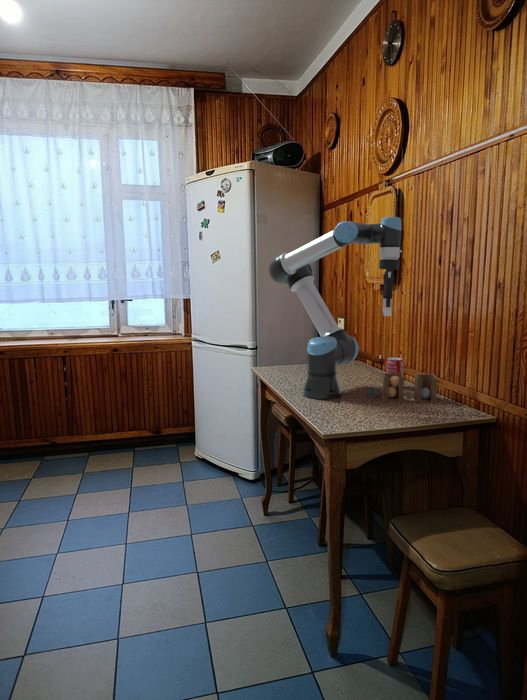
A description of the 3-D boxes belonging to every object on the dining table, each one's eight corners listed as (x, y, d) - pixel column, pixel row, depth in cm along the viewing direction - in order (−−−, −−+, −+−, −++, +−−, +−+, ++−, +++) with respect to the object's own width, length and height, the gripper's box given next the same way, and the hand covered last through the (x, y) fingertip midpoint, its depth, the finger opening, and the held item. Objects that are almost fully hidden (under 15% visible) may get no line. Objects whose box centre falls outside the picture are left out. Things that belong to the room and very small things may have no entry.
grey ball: (419, 400, 179) (420, 388, 178) (418, 397, 183) (418, 386, 182) (431, 400, 178) (432, 389, 177) (429, 397, 182) (430, 386, 182)
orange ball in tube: (387, 400, 181) (384, 389, 181) (386, 396, 186) (383, 386, 185) (398, 397, 180) (396, 387, 180) (397, 394, 185) (395, 384, 184)
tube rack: (382, 402, 180) (383, 376, 179) (381, 397, 187) (382, 372, 186) (437, 404, 177) (438, 378, 175) (434, 399, 184) (435, 374, 182)
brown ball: (388, 379, 181) (397, 372, 181) (386, 381, 185) (394, 374, 185) (395, 388, 180) (404, 381, 180) (393, 390, 184) (401, 383, 184)
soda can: (403, 390, 198) (404, 360, 196) (385, 389, 199) (386, 359, 197) (401, 386, 205) (402, 357, 203) (384, 385, 206) (385, 356, 204)
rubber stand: (367, 400, 183) (368, 389, 183) (367, 398, 186) (367, 387, 186) (375, 400, 183) (376, 389, 182) (375, 398, 186) (375, 387, 185)
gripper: (401, 258, 166) (398, 317, 170) (397, 259, 190) (394, 311, 194) (380, 258, 168) (377, 317, 171) (378, 259, 192) (376, 311, 195)
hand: (386, 314), depth 183 cm, fingers open, 13 cm apart
